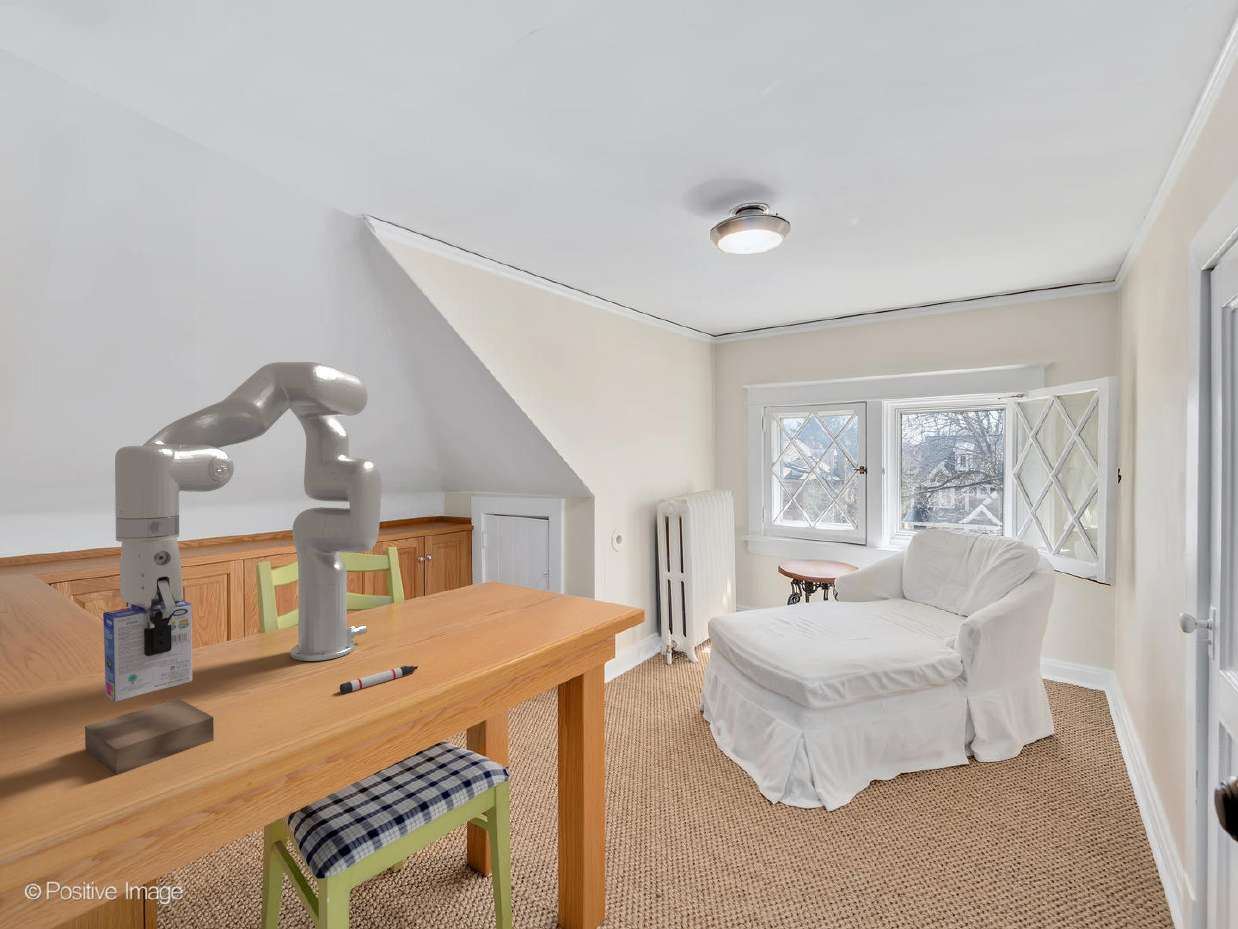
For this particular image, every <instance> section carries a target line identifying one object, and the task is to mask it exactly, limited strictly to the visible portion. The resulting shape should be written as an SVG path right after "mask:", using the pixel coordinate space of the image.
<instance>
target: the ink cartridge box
mask: <svg viewBox="0 0 1238 929" xmlns="http://www.w3.org/2000/svg"><path fill="white" fill-rule="evenodd" d="M152 604H153V605H151V606H155V605H161V604H160V601H158V602H152ZM192 607H193V604H192V603H191V602H188V601H185V600H184V599H182V601H181V602H180V603H178V604H175V610H174V611H173V615H172V625H171V644H172V648H171V650H170V651H169V652H164V653H160V654H156V655H151V656H146V655H145V654H144V629H145V628H147V622H146V615H145V608H141V607H139V606H136V605H133V604H132V607H131V608H127V607H126V608H120V609H116V610H110V611H106V612H105V611H104V612H103V614H102V616H103V617H102V619H103V620H102V621H103V641H104V642H103V643H104V683H105V686H104V688H105V691H104V694H105V695H106V696H107V697H108V698H109V699H111V701H112V702H118V701H122V700H126V699H130V698H134V697H138V696H141V695H145V694H149V693H153V692H156V691H160V690H161V691H162V690H163V689H167V688H171V687H175V686H179V685H184V684H186V683H190V682H193V642H192V639H193V638H192V637H193V636H192V634H193V633H192V632H193V631H192V625H193V624H192V618H193V616H192V612H193V610H192ZM157 611H160V610H154V611H153V617H154V616H155V614H156V612H157Z"/></svg>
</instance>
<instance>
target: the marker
mask: <svg viewBox="0 0 1238 929" xmlns="http://www.w3.org/2000/svg"><path fill="white" fill-rule="evenodd" d="M418 667H419V665H416V666H414V665H403V666H399V667H396V668H392V669H387V670H385V671H381V672H378V673H374V674H371V675H367V676H364V677H360V678H357V679H353V680H350V681H346V682H343V683H341V684H339V693H341V694H343V695H346V694H349V693H353V692H357V691H359V690H363V689H366V688H370V687H373V686H377V685H379V684H383V683H386V682H389V681H393V680H396V679H399V678H402V677H406V676H409V675H410V674H411V673H414V672H415V670H418Z"/></svg>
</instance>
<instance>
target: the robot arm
mask: <svg viewBox="0 0 1238 929" xmlns="http://www.w3.org/2000/svg"><path fill="white" fill-rule="evenodd" d="M368 395H369V394H368V390H367V387H366V386H365V384H364V382H363V381H362V380H361V379H360V378H359V377H357V376H356V375H354V374H351V373H349V372H346V371H343V370H340V369H338V368H334V367H332V366H329V365H326V364H323V363H318V362H314V361H287V362H285V361H279V362H278V361H276V362H271V363H268V364H265V365H264V366H261V367H260V368H259V369H258V370H256V371H255V372H254V373H253V374H252V375H251V376H250V377H248V378H247V379H246V380H245V381H244V382H243V383H241V384H240V385H239V386H238V387H237V388H235V389H234V391H232V392H231V393H230V394H229V395H227V396H226V397H225V398H223V400H221V401H219V402H216V403H214V404H211V405H208V406H206V407H204V408H201V409H200V410H197V411H194V412H193V413H191V414H188V415H186V416H183V417H181V418H179V419H177V420H174V421H172V422H170V423H169V424H168V425H166V426H164V427H163V428H161V429H160V430H159V431H158V432H157V433H155V434H154V435H153V436H152V437H150V438H149V439H148V440H147V441H146V442H145V443H144V444H143V445H127V446H123V447H120V448H119V449H118V450H117V451H116V453H115V455H114V475H115V476H114V483H115V484H114V487H115V488H114V490H115V492H114V495H115V496H114V498H115V499H114V501H115V502H114V503H115V506H114V507H115V508H114V510H115V514H114V515H115V541H116V542H121V548H120V562H119V590H120V597H121V599H122V601H123V602H126V605H125V606H126V608H131V607H132V604H133V605H136V606H139V607H141V608H145V615H146V622H147V628H145V629H144V654H145V655H146V656H151V655H156V654H160V653H164V652H169V651H170V650H171V648H172V644H171V625H172V615H173V611H174V610H175V604H178V603H180V602H181V601H182V600H184V592H183V575H182V574H183V573H182V561H181V552H180V547H179V546H180V545H179V542H178V538H179V537H180V492H188V493H189V492H190V493H191V492H193V493H194V492H195V493H196V492H197V493H207V492H213V491H217V490H219V489H221V488H223V487H225V486H226V485H227V484H228V483H229V482H230V480H231V479H232V478H233V475H234V472H235V467H234V466H235V465H234V461H233V459H232V457H231V456H230V455H229V453H227V452H226V451H225V450H223V449H222V448H223V447H227V446H231V445H236V444H242V443H245V442H248V441H252V440H253V439H257V438H259V437H262V436H263V435H264V434H266V433H267V432H268V430H270V428H272V427H273V425H274V424H275V423H277V421H278V420H279V419H280V418H281V417H282V416H283V415H284V414H285V413H286V412H287V411H288V410H289V409H290V411H291V412H292V413H293V414H294V415H295V417H296V418H297V420H298V421H299V422H300V424H301V426H302V428H303V430H304V436H305V456H304V458H305V459H304V475H303V488H304V491H305V494H306V496H307V497H308V498H310V499H311V500H315V501H318V502H319V501H321V502H333V503H334V502H339V503H343V502H344V503H349V507H348V508H347V507H346V508H345V507H313V508H307V509H305V510H303V511H301V512H300V513H299V514H298V515H296V516H295V518H294V521H293V523H292V538H293V543H294V547H295V552H296V559H297V570H298V572H297V574H298V576H297V577H298V583H297V584H298V585H297V587H298V588H297V589H298V590H297V591H298V592H297V594H298V596H297V597H298V599H297V601H298V602H297V604H298V605H297V606H298V607H297V608H298V611H297V612H298V613H297V614H298V622H297V623H298V644H296V645H295V646H293V647H292V648H291V649H290V657H291V658H292V659H293V660H296V661H302V662H318V661H327V660H332V659H336V658H340V657H344V656H345V655H348V654H350V653H351V652H352V651H354V649H355V641H353V640H352V639H354V638H355V636H361V635H365V634H366V633H367V631H368V630H367V626H366V625H359V626H356V627H355V626H354V625H352V626H347V624H348V621H347V620H348V619H347V618H348V613H347V612H348V610H347V609H348V608H347V607H348V605H347V603H348V602H347V601H348V599H347V598H348V595H347V594H348V593H347V592H348V591H347V584H348V583H347V580H348V574H347V572H348V571H347V567H346V563H345V562H344V560H343V558H342V556H341V554H340V553H350V554H351V553H352V554H358V553H359V554H361V553H366V552H369V551H371V550H372V549H373V548H374V547H375V545H376V544H377V541H378V537H379V533H380V521H381V518H380V517H381V505H382V504H381V503H382V502H381V501H382V476H381V472H380V470H379V469H380V468H378V466H377V464H375V463H374V462H373V461H372V460H370V459H365V458H354V457H353V458H351V457H349V455H350V454H349V453H350V450H349V448H350V446H349V444H350V440H349V439H350V438H349V433H348V431H347V429H346V427H345V425H344V423H343V422H342V421H341V419H339V417H349V416H351V417H353V416H356V415H358V414H360V413H362V412H363V410H365V407H366V406H367V402H368V399H369V398H368V397H369V396H368ZM158 601H160V604H161V605H155V606H151V605H153V604H152V602H158ZM154 610H160V611H157V612H156V614H155V616H154V617H153V611H154Z"/></svg>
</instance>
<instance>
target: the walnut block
mask: <svg viewBox="0 0 1238 929" xmlns="http://www.w3.org/2000/svg"><path fill="white" fill-rule="evenodd" d="M214 724H215V723H214V716H212V715H210V714H208V713H207V712H204V711H203V710H201V709H199V708H197V707H195V706H193V705H191V704H190V703H188V702H186V701H184V700H182V699H180V698H177V699H173V700H170V701H167V702H163V703H160V704H156V705H153V706H149V707H146V708H142V709H140V710H136V711H133V712H129V713H125V714H123V715H119V716H115V717H112V718H110V719H109V718H108V719H106V720H102V721H99V722H96V723H92V724H89V725H86V726H84V745H85V746H84V748H85V752H86V753H88V754H89V755H90V756H92V757H93V758H94V759H96V760H97V761H98V762H99V763H100V764H102V765H103V766H104V767H106V768H107V769H109V770H110V771H111V772H113V773H114V775H116V776H118V775H122V774H125V773H127V772H130V771H132V770H135V769H137V768H141V767H144V766H146V765H148V764H149V765H150V764H153V763H155V762H157V761H160V760H163V759H166V758H169V757H171V756H174V755H176V754H179V753H182V752H185V751H188V750H191V749H193V748H196V747H199V746H201V745H204V744H207V743H210V742H213V741H214V739H215V737H214V734H215V733H214Z"/></svg>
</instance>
